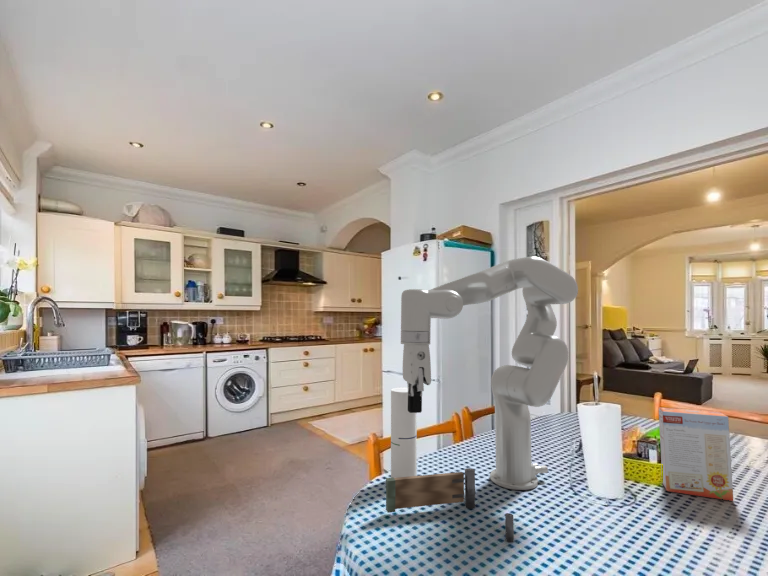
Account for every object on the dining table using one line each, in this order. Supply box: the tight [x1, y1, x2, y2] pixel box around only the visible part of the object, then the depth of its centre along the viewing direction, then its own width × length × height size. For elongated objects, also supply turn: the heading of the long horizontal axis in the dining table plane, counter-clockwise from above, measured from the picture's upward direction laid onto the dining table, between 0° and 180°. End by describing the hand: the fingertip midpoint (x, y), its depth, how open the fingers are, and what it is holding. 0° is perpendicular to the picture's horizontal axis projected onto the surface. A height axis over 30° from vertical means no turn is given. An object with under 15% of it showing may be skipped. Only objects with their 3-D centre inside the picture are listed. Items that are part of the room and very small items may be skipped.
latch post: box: [504, 512, 515, 544], centre depth 81 cm, size 2×2×5 cm
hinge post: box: [464, 467, 476, 510], centre depth 96 cm, size 2×2×8 cm
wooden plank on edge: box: [385, 471, 465, 514], centre depth 93 cm, size 19×2×7 cm, turn 102°
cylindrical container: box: [390, 386, 418, 478], centre depth 110 cm, size 7×7×25 cm
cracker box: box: [658, 406, 734, 502], centre depth 104 cm, size 14×6×21 cm, turn 65°
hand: (414, 411), depth 99 cm, fingers closed
